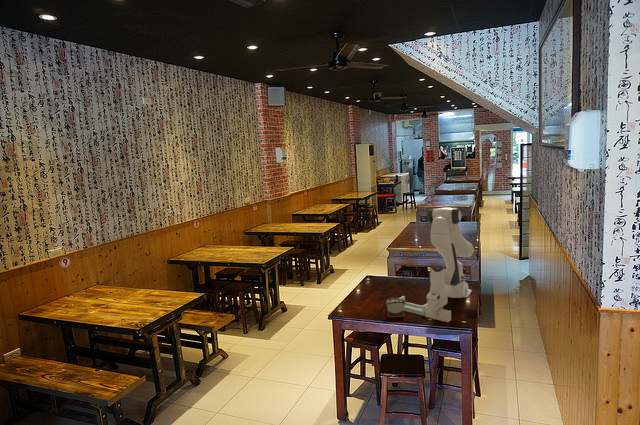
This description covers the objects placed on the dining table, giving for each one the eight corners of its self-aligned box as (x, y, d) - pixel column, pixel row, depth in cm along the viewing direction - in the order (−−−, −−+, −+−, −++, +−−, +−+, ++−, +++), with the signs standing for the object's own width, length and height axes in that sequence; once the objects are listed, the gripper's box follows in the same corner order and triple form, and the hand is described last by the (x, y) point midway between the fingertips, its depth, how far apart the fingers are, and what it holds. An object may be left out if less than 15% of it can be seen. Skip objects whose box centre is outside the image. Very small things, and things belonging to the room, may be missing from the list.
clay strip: (428, 314, 267) (428, 305, 266) (451, 320, 257) (451, 310, 257) (425, 316, 264) (425, 307, 263) (448, 322, 254) (448, 312, 254)
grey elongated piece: (403, 304, 287) (403, 295, 286) (431, 310, 273) (431, 301, 272) (395, 308, 279) (395, 299, 279) (423, 315, 266) (423, 306, 265)
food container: (403, 312, 272) (403, 297, 271) (406, 316, 266) (405, 300, 265) (384, 313, 272) (384, 298, 271) (386, 317, 266) (386, 301, 265)
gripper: (440, 287, 268) (440, 308, 270) (425, 296, 253) (425, 319, 255) (450, 289, 264) (450, 311, 266) (434, 298, 249) (435, 321, 251)
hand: (437, 315), depth 261 cm, fingers closed on clay strip, 4 cm apart
